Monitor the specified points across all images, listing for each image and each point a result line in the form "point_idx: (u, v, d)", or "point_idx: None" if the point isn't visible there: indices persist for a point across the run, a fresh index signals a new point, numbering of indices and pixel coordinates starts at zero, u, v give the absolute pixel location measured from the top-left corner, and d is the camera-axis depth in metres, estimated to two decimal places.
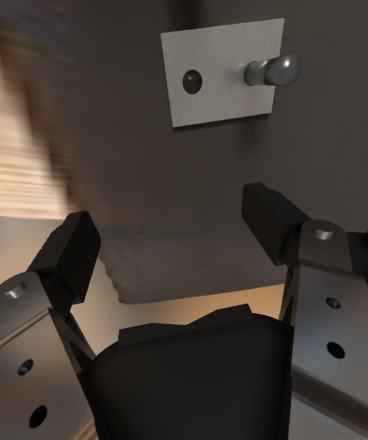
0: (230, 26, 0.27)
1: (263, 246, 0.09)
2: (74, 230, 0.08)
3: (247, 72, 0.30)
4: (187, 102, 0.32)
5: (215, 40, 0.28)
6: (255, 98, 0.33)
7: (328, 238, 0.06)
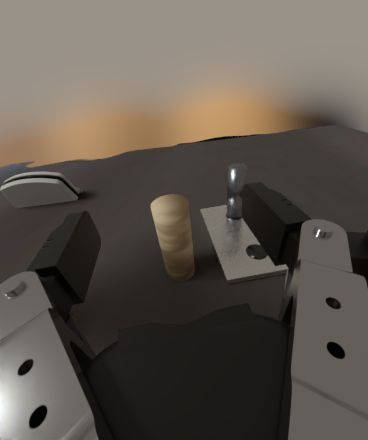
0: (210, 233, 0.34)
1: (263, 246, 0.09)
2: (74, 230, 0.08)
3: (235, 215, 0.36)
4: None
5: (220, 239, 0.32)
6: None
7: (328, 238, 0.06)
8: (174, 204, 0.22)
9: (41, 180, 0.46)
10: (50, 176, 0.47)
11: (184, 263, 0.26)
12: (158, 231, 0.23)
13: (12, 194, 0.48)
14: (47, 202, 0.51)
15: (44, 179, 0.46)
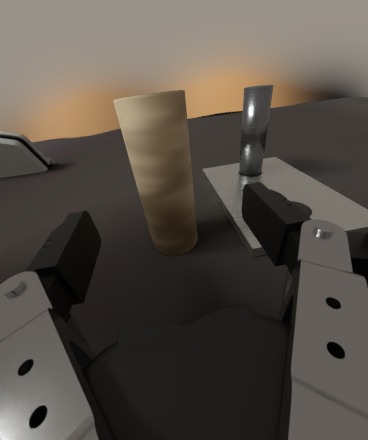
0: (218, 192, 0.24)
1: (263, 246, 0.09)
2: (74, 230, 0.08)
3: (253, 169, 0.25)
4: (326, 210, 0.18)
5: (235, 198, 0.22)
6: (270, 166, 0.28)
7: (328, 238, 0.06)
8: (159, 94, 0.12)
9: None
10: (7, 136, 0.36)
11: (180, 220, 0.15)
12: (130, 152, 0.13)
13: None
14: (7, 174, 0.40)
15: None
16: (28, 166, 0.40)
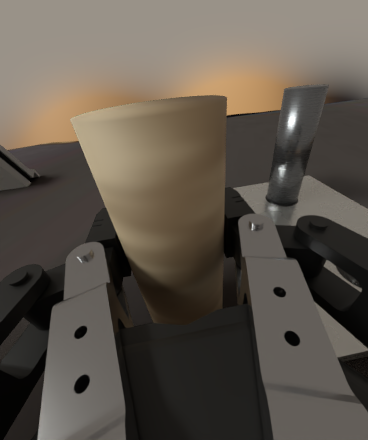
0: None
1: None
2: None
3: (288, 197, 0.19)
4: None
5: None
6: (306, 190, 0.22)
7: (257, 230, 0.06)
8: (171, 104, 0.05)
9: None
10: None
11: (201, 315, 0.09)
12: (113, 219, 0.06)
13: None
14: None
15: None
16: (6, 181, 0.33)
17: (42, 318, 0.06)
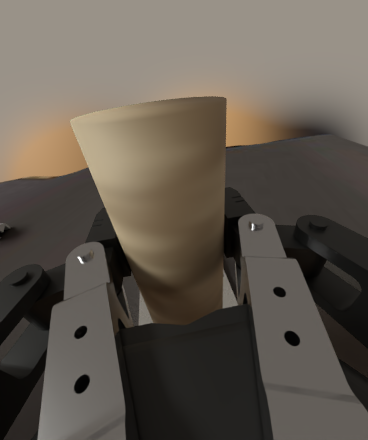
0: (140, 315, 0.23)
1: None
2: None
3: None
4: None
5: None
6: None
7: (257, 230, 0.06)
8: (171, 105, 0.05)
9: None
10: None
11: (201, 316, 0.09)
12: (112, 220, 0.06)
13: None
14: None
15: None
16: None
17: (42, 318, 0.06)
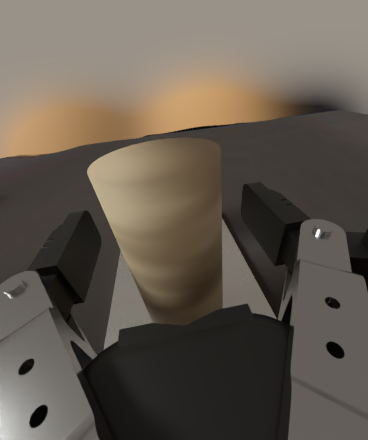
0: (118, 273, 0.18)
1: (262, 246, 0.09)
2: (75, 230, 0.08)
3: None
4: None
5: (130, 290, 0.16)
6: None
7: (327, 238, 0.06)
8: (173, 155, 0.06)
9: None
10: None
11: None
12: (122, 251, 0.07)
13: None
14: None
15: None
16: None
17: None
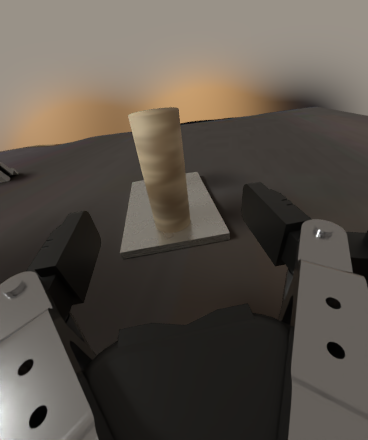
0: (129, 204, 0.28)
1: (263, 246, 0.09)
2: (74, 230, 0.08)
3: None
4: (194, 222, 0.23)
5: (137, 210, 0.27)
6: (186, 181, 0.33)
7: (328, 238, 0.06)
8: (160, 111, 0.16)
9: None
10: None
11: (175, 203, 0.20)
12: (139, 152, 0.17)
13: None
14: None
15: None
16: None
17: None
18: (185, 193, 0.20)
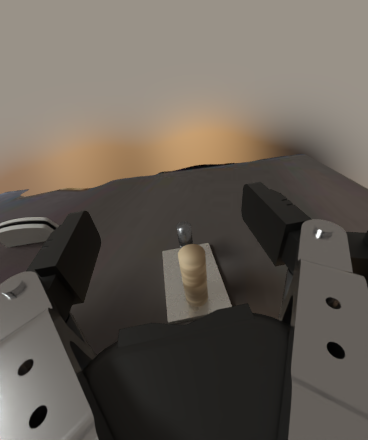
0: (165, 276, 0.42)
1: (263, 246, 0.09)
2: (74, 230, 0.08)
3: None
4: (210, 298, 0.37)
5: (171, 283, 0.41)
6: None
7: (328, 238, 0.06)
8: (195, 254, 0.30)
9: (29, 226, 0.53)
10: (36, 221, 0.55)
11: (201, 294, 0.34)
12: (183, 273, 0.31)
13: (3, 237, 0.55)
14: (34, 241, 0.59)
15: (31, 225, 0.54)
16: None
17: None
18: (206, 286, 0.34)
